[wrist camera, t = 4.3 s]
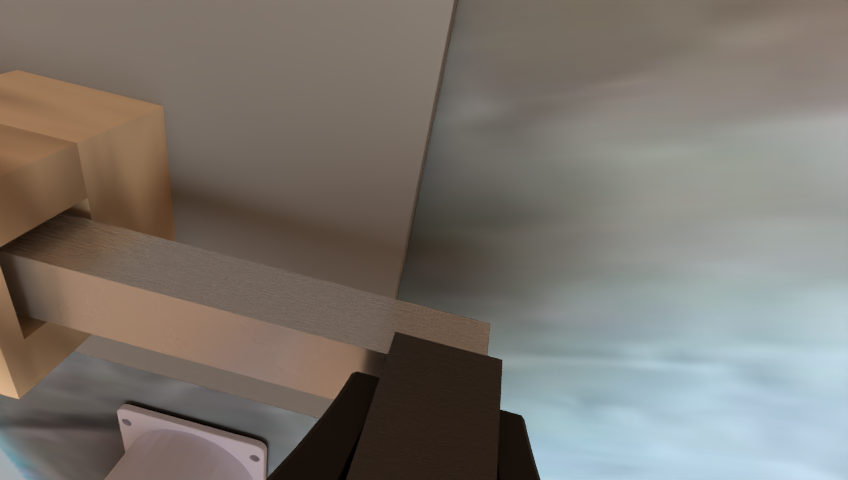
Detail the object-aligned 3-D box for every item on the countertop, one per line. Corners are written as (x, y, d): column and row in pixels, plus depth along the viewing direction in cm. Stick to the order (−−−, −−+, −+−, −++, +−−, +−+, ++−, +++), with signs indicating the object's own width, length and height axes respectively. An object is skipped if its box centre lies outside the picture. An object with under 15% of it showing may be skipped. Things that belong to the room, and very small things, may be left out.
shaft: (476, 390, 14) (452, 622, 9) (-15, 259, 15) (-278, 409, 10) (504, 311, 13) (493, 539, 8) (-47, 169, 13) (-375, 294, 8)
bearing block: (177, 258, 19) (19, 399, 13) (55, 226, 19) (-155, 350, 13) (163, 105, 16) (-54, 199, 10) (18, 70, 16) (-280, 140, 10)
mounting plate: (373, 414, 23) (367, 431, 22) (15, 316, 24) (-4, 329, 23) (477, -95, 13) (474, -99, 12) (-167, -236, 13) (-214, -249, 13)
